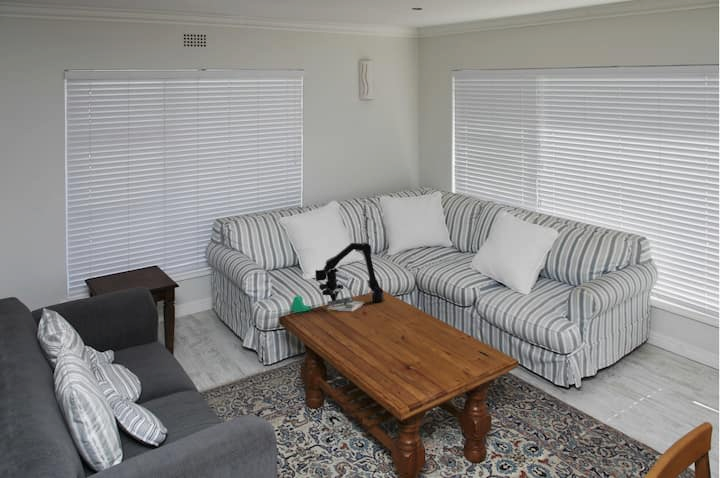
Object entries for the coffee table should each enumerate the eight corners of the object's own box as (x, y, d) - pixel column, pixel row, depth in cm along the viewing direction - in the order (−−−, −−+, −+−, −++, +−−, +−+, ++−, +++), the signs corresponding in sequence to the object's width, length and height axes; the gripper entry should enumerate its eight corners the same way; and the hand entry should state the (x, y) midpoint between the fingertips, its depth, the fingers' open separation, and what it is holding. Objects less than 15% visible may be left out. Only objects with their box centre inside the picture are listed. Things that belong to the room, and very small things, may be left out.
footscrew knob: (350, 302, 393) (350, 296, 392) (354, 303, 388) (353, 297, 387) (326, 306, 386) (326, 301, 385) (330, 308, 381) (329, 302, 380)
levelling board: (364, 303, 392) (363, 297, 392) (352, 311, 376) (351, 304, 376) (339, 303, 400) (339, 296, 399) (326, 310, 384) (326, 303, 383)
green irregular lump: (312, 310, 389) (311, 294, 387) (304, 313, 383) (302, 297, 381) (299, 308, 396) (297, 293, 395) (291, 311, 390) (289, 295, 389)
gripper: (327, 275, 400) (329, 298, 402) (313, 282, 384) (316, 306, 386) (342, 275, 395) (344, 299, 398) (329, 282, 379) (331, 306, 381)
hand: (334, 302), depth 391 cm, fingers closed
